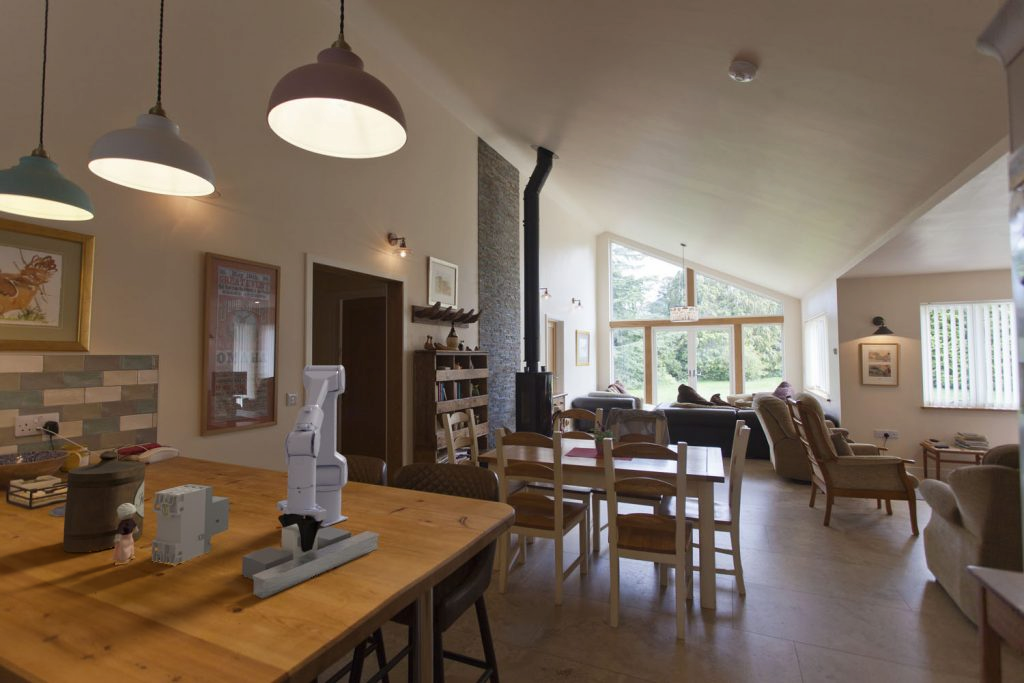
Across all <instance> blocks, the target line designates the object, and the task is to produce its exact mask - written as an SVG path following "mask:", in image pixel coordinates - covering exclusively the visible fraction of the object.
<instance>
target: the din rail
mask: <svg viewBox="0 0 1024 683" xmlns="http://www.w3.org/2000/svg"><path fill="white" fill-rule="evenodd" d="M378 537H380V533H377V532H373V531H369V530H366V531H363V532H361V533H358V534H355V535H353V536H351V537H350V538H348V539H345V540H342V541H340V542H337V543H335V544H332V545H329V546H327V547H324V548H322V549H319V550H317V551H314V552H311V553H309V554H306V555H304V556H301V557H298V558H296V559H293V560H291V561H288V562H286V563H283V564H280V565H278V566H275V567H273V568H270V569H267V570H265V571H262V572H260V573H257V574H254V575H252V578H254V580H253V594H254V595H253V596H255V595H256V596H255V597H257V596H258V597H257V598H259V597H260V598H259V599H262V600H264V599H265V598H268V597H270V596H273V595H275V594H277V593H279V592H282V591H284V590H286V588H287V589H289V588H291V587H294V586H296V585H298V584H300V583H303V582H305V581H307V580H309V579H312V578H313V576H314V577H316V576H319V575H321V574H323V573H325V572H328V571H330V570H332V569H335V568H337V567H339V566H341V565H343V564H346V563H348V562H349V561H352V560H355V559H358V558H359V557H362V556H364V555H366V554H368V553H370V552H373V551H375V550H378ZM334 567H335V568H334ZM327 570H328V571H327ZM322 572H323V573H322ZM320 573H321V574H320ZM318 574H319V575H318ZM315 575H316V576H315ZM311 577H312V578H311ZM302 581H303V582H302Z"/></svg>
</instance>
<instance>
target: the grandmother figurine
mask: <svg viewBox="0 0 1024 683" xmlns="http://www.w3.org/2000/svg"><path fill="white" fill-rule="evenodd" d="M117 512H118V518H119V519H120V520H122V521H121V522H120V523H119V525H118V529H117V531H116V536H115V540H114V543H116V545H115V548H113V549H114V550H113V555H112V561H115V562H114V563H125V562H129V561H130V562H131V560H128V559H132V558H135V559H136V557H135V556H134V554H135V546H134V545H135V544H134V542H135V541H133V538H132V533H137V532H138V529H137V524H136V523H135V521H134V520H133V518H131V517H132V515H133V514H134V513H135V512H136V508H135V506H134V505H132V504H130V503H125V504H122V505H120V506H119V507H118V509H117Z"/></svg>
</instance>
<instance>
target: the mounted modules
mask: <svg viewBox="0 0 1024 683" xmlns="http://www.w3.org/2000/svg"><path fill="white" fill-rule="evenodd" d="M350 537H352V531H348V530H345V529H342V528H337V527H333V526H331V525H329V526H326V527H322V528H319V529H318V549H317V550H319V549H322V548H324V547H327V546H329V545H332V544H335V543H337V542H340V541H342V540H345V539H348V538H350ZM241 560H242V561H241V564H242V565H241V576H242V575H244V576H246V577H248V578H247V579H249V578H250V579H249V580H251V579H252V581H254V578H252V575H254V574H257V573H260V572H262V571H265V570H267V569H270V568H273V567H275V566H278V565H280V564H283V563H286V562H288V561H291V560H293V554H292V553H289V552H286V551H283V550H282V549H279V548H276V547H273V546H271V545H270V546H267V547H264V548H261V549H258V550H256V551H252V552H250V553H247V554H244V555H242V558H241ZM244 576H243V577H244ZM246 577H245V578H246Z"/></svg>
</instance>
